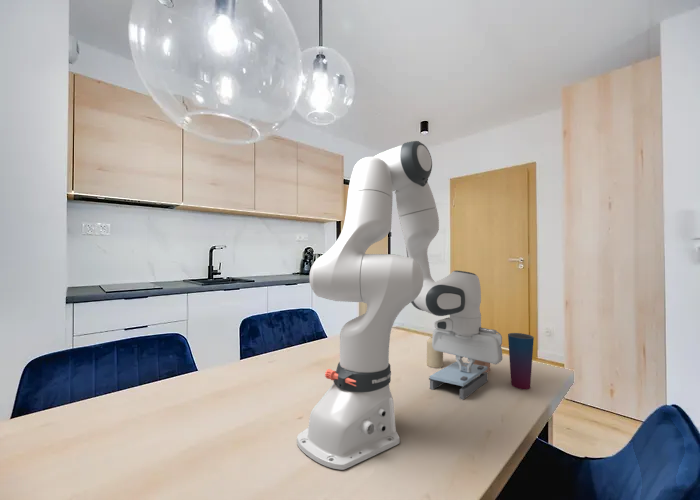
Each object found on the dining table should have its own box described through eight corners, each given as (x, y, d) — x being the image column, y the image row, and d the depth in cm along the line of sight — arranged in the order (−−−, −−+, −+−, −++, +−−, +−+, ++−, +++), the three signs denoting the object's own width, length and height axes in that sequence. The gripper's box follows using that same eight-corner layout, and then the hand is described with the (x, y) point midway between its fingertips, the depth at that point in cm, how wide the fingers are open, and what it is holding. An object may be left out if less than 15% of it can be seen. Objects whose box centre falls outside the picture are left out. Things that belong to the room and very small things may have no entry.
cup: (508, 379, 100) (508, 331, 100) (533, 384, 96) (533, 334, 96) (507, 387, 94) (507, 336, 94) (533, 392, 90) (533, 339, 91)
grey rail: (463, 399, 85) (463, 389, 85) (429, 388, 92) (429, 379, 92) (487, 380, 99) (487, 371, 99) (456, 372, 105) (456, 363, 105)
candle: (441, 363, 114) (441, 335, 115) (444, 368, 109) (444, 339, 109) (425, 362, 115) (426, 334, 115) (428, 367, 109) (428, 338, 110)
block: (484, 374, 104) (484, 360, 104) (469, 370, 107) (469, 357, 107) (490, 370, 108) (490, 357, 108) (475, 367, 111) (475, 354, 111)
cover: (463, 387, 85) (462, 381, 86) (428, 379, 92) (428, 374, 93) (487, 370, 99) (487, 364, 99) (456, 364, 106) (455, 359, 106)
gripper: (505, 328, 90) (505, 377, 90) (439, 318, 104) (439, 361, 104) (498, 333, 85) (498, 384, 85) (429, 321, 99) (429, 366, 99)
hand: (465, 371), depth 95 cm, fingers closed
